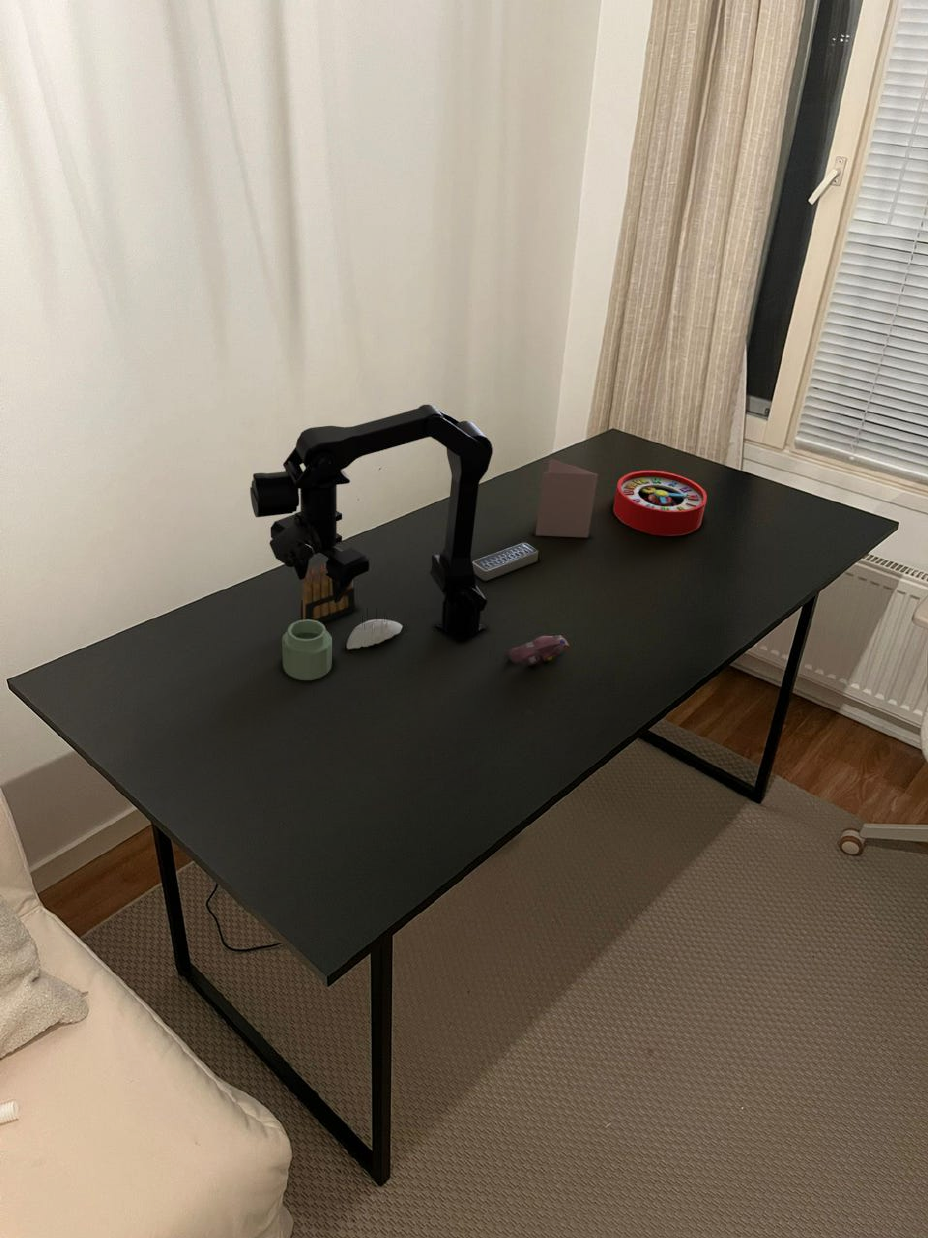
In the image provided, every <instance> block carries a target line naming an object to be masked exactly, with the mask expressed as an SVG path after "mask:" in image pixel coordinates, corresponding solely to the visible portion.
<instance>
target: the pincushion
mask: <svg viewBox="0 0 928 1238" xmlns="http://www.w3.org/2000/svg"><path fill="white" fill-rule="evenodd" d="M366 609H367V615H366V616H367V617H366V619H367V620H365V621H364V616H362V620H361V621H362V622H361V623H360V624H359V625H357V626H355V628H353V630H352V631H351V632H350V635H349V637H348V639H347V642H346V649H347V650H353V649H360V648H361V647H363V648H365V647H366V648H368V647H370V646H374V645H375V644H376V645H378V644H380V643H382V642H385V640H389V639H391V638H393V637H394V636H395V635H398V634H400V633H401V632H402V629H403V628H404V627H403V626H404V625H402V624H401V623H400V622H398V621H395V620H391V619H386V613H384V615H383V616H384V618H377V617H378V610H376V616H375V617H376V618H375V619H369V608H368V607H367V608H366Z"/></svg>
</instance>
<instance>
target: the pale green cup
mask: <svg viewBox="0 0 928 1238" xmlns="http://www.w3.org/2000/svg"><path fill="white" fill-rule="evenodd" d="M332 645H333V637H332V636H331V634H330V633H329V631H327V629H326V625H325V624H323V622H322V623H320V622H319V621H316V620H310V619H305V620H301V619H298V620H296V621H294V622H292V623H290V624H289V626H288V627H287V631H286V632H285V633H284V634H283V635H282V640H281V652H282V667H283V670H284V673H285V674H287V675H288V677H290V678H293V679H296V680H300V681H313V680H316V679H317V680H318V679H320V678H323V677H324V676H326V675H328V673H329V672H330V671H331V670H332V666H333V665H332V663H333V652H332V651H333V646H332Z"/></svg>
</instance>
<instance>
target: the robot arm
mask: <svg viewBox="0 0 928 1238" xmlns="http://www.w3.org/2000/svg"><path fill="white" fill-rule="evenodd" d="M428 438H432V439H433V440H434V441H436V442H438V443H439V444H441V445H442V446H444V447H445V448H446V457H447V461H448V465H449V469H450V474H451V480H450V481H451V482H450V489H449V498H448V499H449V500H448V511H447V518H446V519H447V520H446V531H445V541H444V548H443V549H442V551H441V552H440V554H433V555H431V562H432V563H431V564H432V565H431V569H430V570H429V575H430V576H431V577H432V578H433V581H434V583H435V584H436V585H437V587H438V589H439V590H440V591H441V593H442V594H443V596H444V599H443V601H442V611H441V620H442V621H440V622H438V623H437V624H436V628H437V629H439V630H441V631H442V632H444V633H446V634H448V635H449V636H451V637H452V638H453V639H456V640H458V641H459V642H464V641H466V640H468V639H470V638H471V637H473V636H474V635H476V634H478V633H480V632H482V631H483V630H485V625H484V624H482V623H481V622H480V621H481V612H483V611H484V610H485V608H486V606H487V605H488V599H487V598H486V597H485V595H484V594H483V593H482V591H481V590H480V589H479V587H478V586H477V581H476V579H477V578H476V575H475V571H474V567H473V560H472V548H473V547H472V546H473V538H474V530H475V521H476V514H477V513H476V512H477V503H478V496H479V487H480V482H481V480H482V479H483V477H484V476H485V475H486V473H488V470H489V467H490V464H491V460H492V457H493V454H494V446H493V443H492V442H491V441H490V439H488V437H487V436H486V435H485V434H484V433H483V432H482V431H481V430H480V429H479V427H477V425H475V423H473V422H472V421H470V420H462V421H460V420H458V419H457V418H455V417H453V416H452V415H450V414H449V413H445V412H444V411H441V410H440V409H437V407H435V406H434V405H432V404H422V405H420V406H418V407H417V408H414V409H410V410H407V411H404V412H400V413H397V414H392V415H389V416H386V417H382V418H379V419H374V420H371V421H367V422H363V423H361V424H356V425H353V426H338V425H324V426H314V427H309V428H306V429H304V430H303V431H302V432H301V433H300V434H299V436H298V438H297V439H296V443H295V447H294V448H293V450H292V451H291V452H290V454H289V455H288V457H287V458H286V460H284V462H283V463H282V466H283V468H284V470H283V471H274V472H255V473H252V480H251V487H250V488H249V493H250V502H251V506H252V507H251V508H252V510H253V514H254V517H256V518H265V517H273V516H281V515H288V514H290V515H288V516H286V517H282V518H281V519H278V520H275V521H274V522H273V523H272V525H271V526H270V527H269V528H270V538H271V540H270V541H269V546H270V549H271V551H272V553H273V555H274V558H275V559H276V560H277V561H280V562H281V563H283V564H284V565H285V566H286V567H288V568H294V570H295V573H296V576H297V578H298V580H299V581H303V579H305V577H306V574H307V570H308V571H309V565H310V564H309V563H310V560H311V559H312V558H313V557H314V555H317V554H320V555H322V556H323V557H325V558H327V560H326V562H325V566H326V570H327V573H326V574H325V575H327V578H328V577H330V578H331V579H332V589H333V598H334V602H335V603H338V602H340V601H341V599H342V598H343V596H344V594H345V592H346V590H347V589H348V587H349V585H350V584H351V582H352V580H353V581H354V579H355V578H356V577H359V576H360V575H362V574H366V573H367V572H369V571H370V557H368V556H366V555H365V554H363V553H362V552H360V551H359V550H357V549H355V548H353V547H352V546H351V547H349V548H346V549H344V550H342V549H341V548H339V547H337V545H338V544H339V543H343V536H342V535H341V534H340V533H338V522H340V521H342V520H343V513H342V512H340V511H339V510H338V486H339V485H340V486H341V485H347V484H350V483H351V479H350V477H349V476H348V475H347V473H346V471H345V469H347V468H348V467H350V465H351V464H352V463H354V462H355V461H356V460H358V459H360V458H362V457H364V456H367V455H372V454H375V453H378V452H381V451H384V450H385V451H386V450H389V449H392V448H395V447H399V446H402V445H406V444H409V443H412V442H416V441H420V440H423V439H428ZM302 464H303V466H304V468H305V469H304V470H303V468H302V467H301V465H302ZM299 505H300V511H298V507H299ZM291 514H292V515H291Z"/></svg>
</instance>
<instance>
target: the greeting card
mask: <svg viewBox="0 0 928 1238" xmlns="http://www.w3.org/2000/svg"><path fill="white" fill-rule="evenodd" d="M598 476H599V474H597V473H595V472H591V471H589V470H585V469H582V468H580V467H577V466H574V465H571V464H567V463H564V462H561V461H559V460H555V459H553V458H549V462H548V469H547V471H543V473H542V480H541V488H540V496H539V503H538V513H537V520H536V528H535V536H545V537H547V536H548V537H569V538H588V537H589V532H590V527H591V522H592V521H591V520H592V514H593V509H594V502H595V496H596V489H597V482H598V478H599V477H598Z"/></svg>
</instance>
